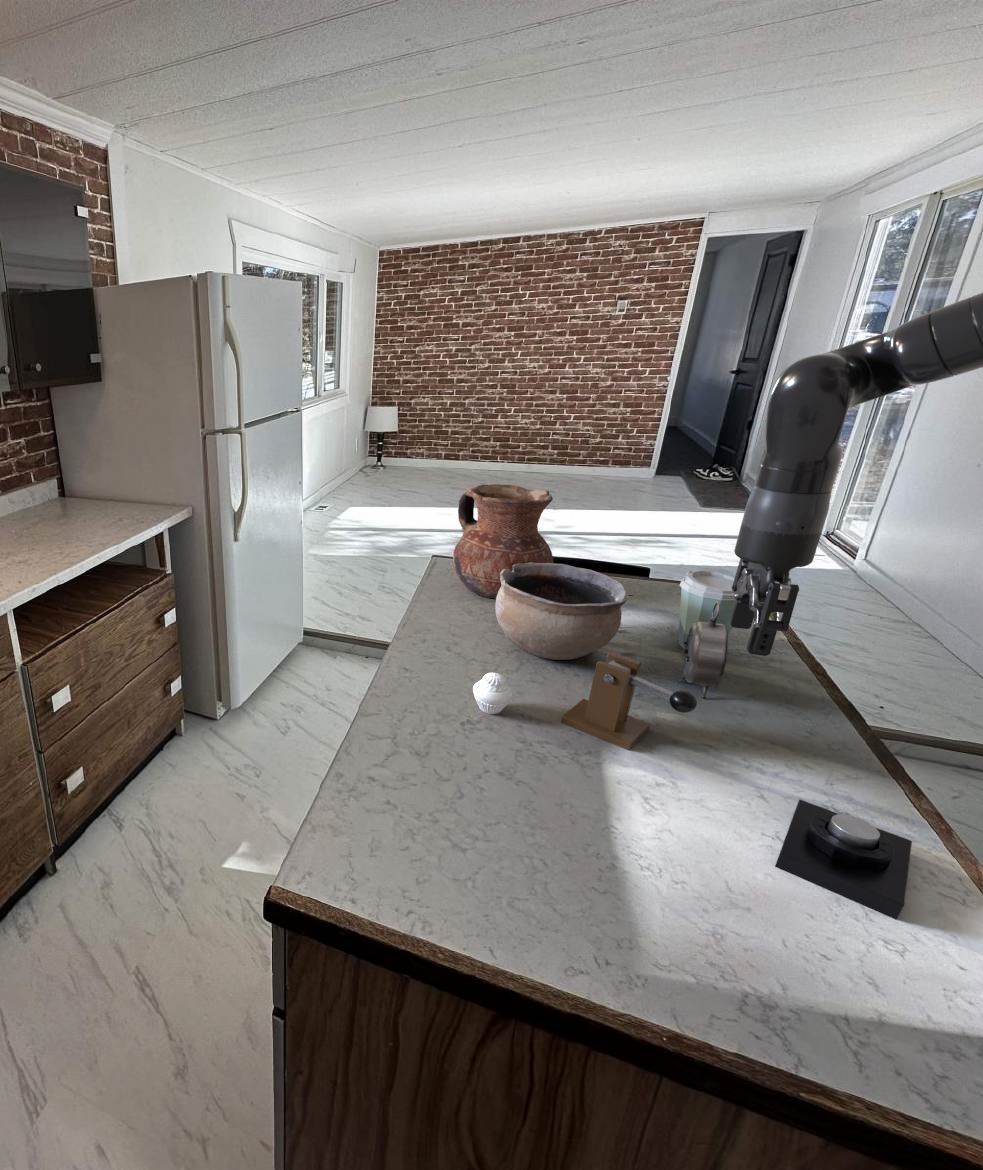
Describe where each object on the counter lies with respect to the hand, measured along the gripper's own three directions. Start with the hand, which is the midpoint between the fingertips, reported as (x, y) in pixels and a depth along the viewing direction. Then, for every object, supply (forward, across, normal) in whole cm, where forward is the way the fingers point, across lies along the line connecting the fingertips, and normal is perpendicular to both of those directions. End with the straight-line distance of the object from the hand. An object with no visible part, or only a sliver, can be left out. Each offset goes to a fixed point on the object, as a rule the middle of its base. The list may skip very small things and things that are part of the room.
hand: (748, 640), depth 83 cm
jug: (+20, +60, +32) cm, 71 cm away
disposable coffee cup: (+21, +42, -5) cm, 47 cm away
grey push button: (+17, -15, -10) cm, 25 cm away
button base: (+21, -15, -10) cm, 27 cm away
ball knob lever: (+13, +4, +9) cm, 16 cm away
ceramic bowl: (+20, +31, +21) cm, 42 cm away
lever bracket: (+20, +6, +13) cm, 25 cm away
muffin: (+20, +4, +30) cm, 36 cm away
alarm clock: (+21, +25, -2) cm, 33 cm away
